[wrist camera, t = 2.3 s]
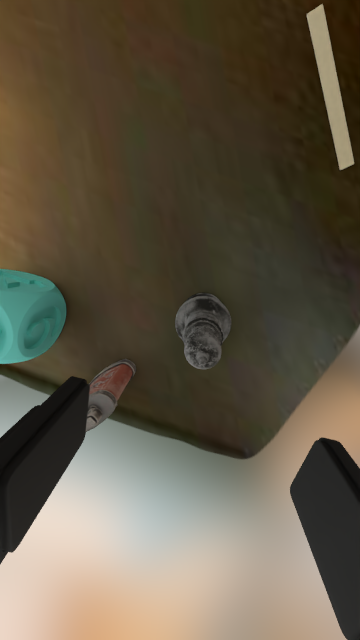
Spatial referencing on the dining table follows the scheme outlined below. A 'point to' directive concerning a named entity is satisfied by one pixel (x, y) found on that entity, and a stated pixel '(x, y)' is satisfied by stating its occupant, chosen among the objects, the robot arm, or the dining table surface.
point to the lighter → (107, 391)
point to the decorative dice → (28, 315)
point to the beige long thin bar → (330, 86)
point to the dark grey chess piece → (203, 329)
